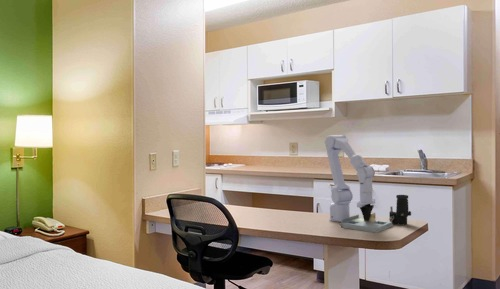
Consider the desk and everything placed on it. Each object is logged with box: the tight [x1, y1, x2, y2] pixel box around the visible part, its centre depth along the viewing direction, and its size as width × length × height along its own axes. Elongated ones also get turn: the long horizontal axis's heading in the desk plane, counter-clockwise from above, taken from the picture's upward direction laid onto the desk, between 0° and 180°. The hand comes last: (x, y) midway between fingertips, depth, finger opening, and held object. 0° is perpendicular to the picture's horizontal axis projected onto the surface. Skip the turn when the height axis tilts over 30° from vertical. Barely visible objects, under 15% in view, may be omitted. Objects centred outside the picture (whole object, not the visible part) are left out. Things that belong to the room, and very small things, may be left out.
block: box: [364, 211, 377, 222], centre depth 198 cm, size 4×4×4 cm
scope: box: [388, 194, 412, 226], centre depth 200 cm, size 8×14×10 cm
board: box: [340, 214, 393, 234], centre depth 196 cm, size 18×16×4 cm
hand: (366, 220), depth 195 cm, fingers closed
